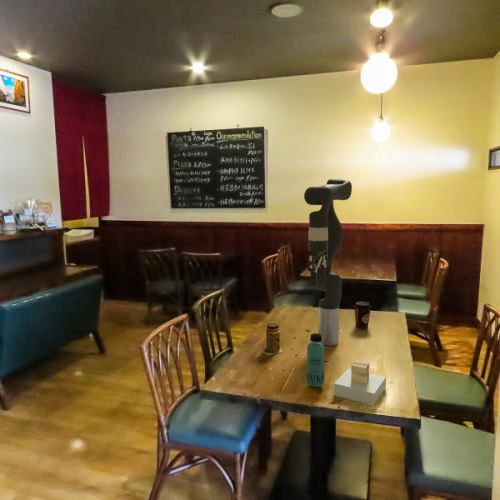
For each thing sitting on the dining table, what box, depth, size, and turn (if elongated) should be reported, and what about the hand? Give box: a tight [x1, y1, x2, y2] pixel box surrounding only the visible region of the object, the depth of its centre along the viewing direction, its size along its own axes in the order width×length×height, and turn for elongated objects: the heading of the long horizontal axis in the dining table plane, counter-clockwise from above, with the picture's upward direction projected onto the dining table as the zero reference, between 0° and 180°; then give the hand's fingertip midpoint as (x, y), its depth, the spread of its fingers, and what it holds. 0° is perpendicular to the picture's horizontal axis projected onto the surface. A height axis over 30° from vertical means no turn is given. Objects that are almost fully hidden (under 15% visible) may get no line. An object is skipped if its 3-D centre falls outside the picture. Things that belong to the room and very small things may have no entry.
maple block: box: [350, 359, 370, 385], centre depth 148 cm, size 5×5×6 cm
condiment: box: [259, 322, 284, 356], centre depth 187 cm, size 7×8×12 cm
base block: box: [333, 367, 387, 406], centre depth 149 cm, size 14×14×5 cm
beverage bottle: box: [306, 332, 326, 388], centre depth 152 cm, size 6×7×20 cm
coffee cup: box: [353, 301, 372, 331], centre depth 214 cm, size 9×8×13 cm
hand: (318, 279), depth 166 cm, fingers open, 8 cm apart
